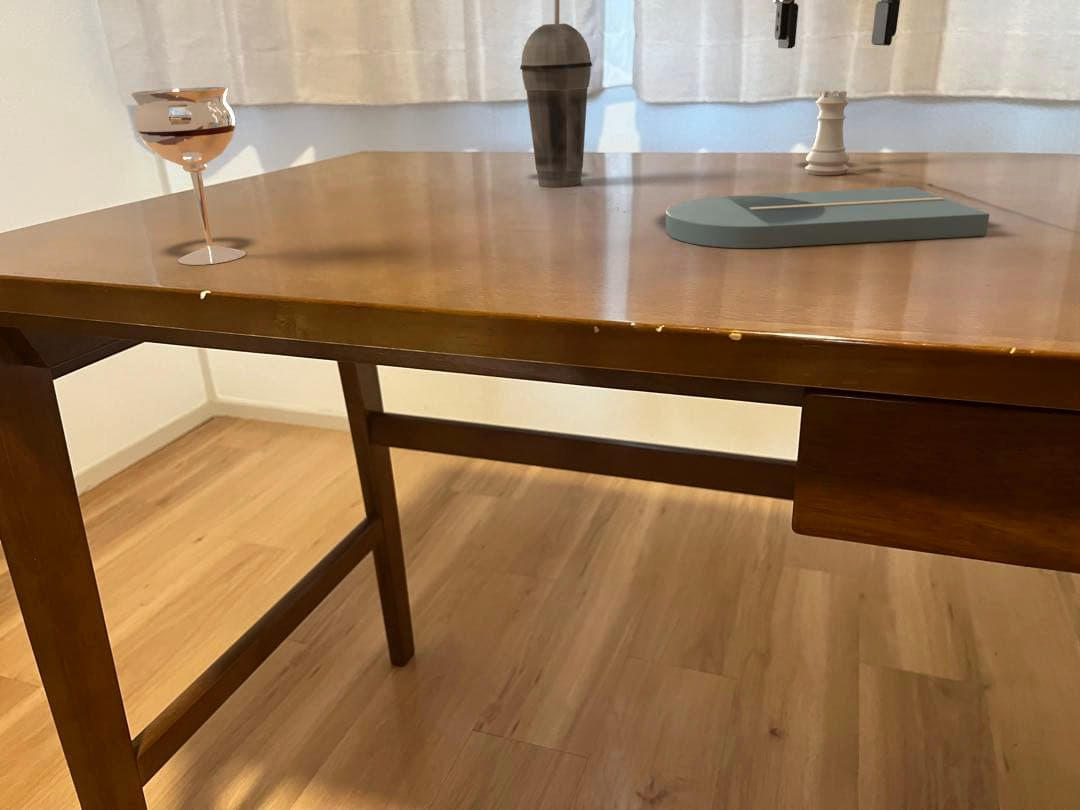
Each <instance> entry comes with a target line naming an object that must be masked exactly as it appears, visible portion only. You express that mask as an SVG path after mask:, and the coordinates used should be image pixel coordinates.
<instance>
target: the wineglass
mask: <svg viewBox="0 0 1080 810" xmlns="http://www.w3.org/2000/svg"><path fill="white" fill-rule="evenodd" d="M228 90H229V87H228V86H205V87H204V86H203V87H201V86H200V87H183V88H168V89H166V88H165V89H153V90H151V89H150V90H142V91H141V90H140V91H132V92H129V93H128V94H129V96H130V97H131V99H132V100H133V101H134V102H135V104H136V105H137V106H136V107H137V108H136V110H135V112H134V127H135V128H136V131H137V133H138V134H137V135H138V136H139V137H140V139H141V140H142V142H143V144H144V145H145V147H147V148H149V149H150V150H151V151H153V152H154V153H155V154H156V155H158V156H159V157H160V158H162V159H163V160H166V161H169V162H171V163H174V164H177V165H179V166H182V170H183V171H184V172H186V173H189V174H190V178H191V182H192V186H193V190H194V195H195V199H196V204H197V208H198V212H199V216H200V220H201V224H202V229H203V233H204V237H205V241H206V246H204V247H202V248H199V249H197V250H195V251H192V252H190V253H187V254H185V255H182V256H181V257H180V258H178V260H177V262H178V263H179V264H183V265H188V266H189V265H192V266H202V265H203V266H204V265H215V264H219V263H221V264H222V263H226V262H231V261H235V260H238V259H240V258H243V257H244V256H246V254H247V252H246V251H245V250H242V249H237V248H233V247H225V246H219V245H214V244H213V237H212V233H211V232H212V231H211V224H210V219H209V218H210V217H209V211H208V206H207V205H208V204H207V199H206V191H205V186H204V179H203V173H202V172H203V171H206V169H207V167H208V165H207V164H209V163H210V162H212V161H213V160H214V159H216V158H217V157H219V156H220V155H222V154H223V153H224V151H225V150H226V148H227V147H228V145H229V144H230V143H231V142H232V140H233V139H234V135H235V130H236V126H237V125H236V124H237V122H236V116H235V113H234V111H233V108H232V107H231V105H230V104H229V103H228V102H227V100H226V98H227V93H228Z"/></svg>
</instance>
